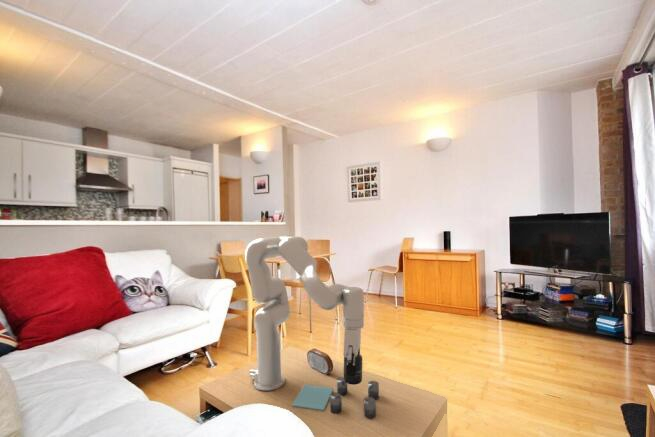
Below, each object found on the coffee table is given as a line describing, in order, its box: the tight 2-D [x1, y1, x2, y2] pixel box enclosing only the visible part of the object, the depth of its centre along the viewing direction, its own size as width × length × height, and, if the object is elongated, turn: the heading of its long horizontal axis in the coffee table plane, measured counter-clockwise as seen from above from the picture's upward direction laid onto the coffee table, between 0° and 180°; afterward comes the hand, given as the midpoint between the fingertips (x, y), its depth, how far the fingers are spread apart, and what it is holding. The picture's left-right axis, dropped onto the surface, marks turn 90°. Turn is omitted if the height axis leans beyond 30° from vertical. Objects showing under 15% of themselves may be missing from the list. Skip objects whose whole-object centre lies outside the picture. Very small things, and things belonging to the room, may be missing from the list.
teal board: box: [291, 384, 334, 412], centre depth 116 cm, size 12×14×1 cm
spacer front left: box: [329, 392, 343, 415], centre depth 108 cm, size 4×4×5 cm
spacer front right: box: [363, 396, 377, 420], centre depth 105 cm, size 4×4×5 cm
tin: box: [306, 348, 334, 375], centre depth 137 cm, size 15×3×8 cm, turn 43°
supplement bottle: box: [343, 347, 363, 386], centre depth 112 cm, size 7×7×12 cm
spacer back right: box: [367, 380, 380, 401], centre depth 115 cm, size 4×4×5 cm
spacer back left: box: [336, 376, 349, 397], centre depth 119 cm, size 4×4×5 cm
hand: (353, 369), depth 112 cm, fingers closed on supplement bottle, 6 cm apart
